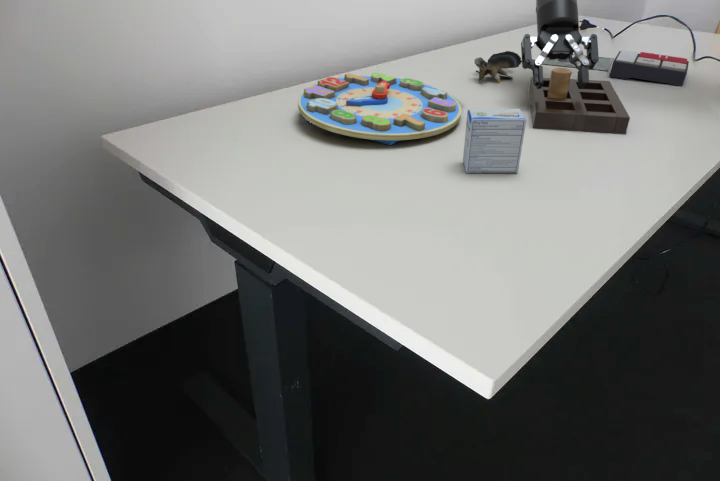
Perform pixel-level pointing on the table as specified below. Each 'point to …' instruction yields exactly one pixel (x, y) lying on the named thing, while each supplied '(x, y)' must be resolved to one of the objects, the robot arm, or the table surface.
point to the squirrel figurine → (497, 64)
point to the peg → (559, 83)
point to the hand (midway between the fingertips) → (561, 86)
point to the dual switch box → (649, 67)
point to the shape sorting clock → (379, 107)
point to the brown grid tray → (579, 108)
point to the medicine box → (493, 140)
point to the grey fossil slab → (600, 65)
